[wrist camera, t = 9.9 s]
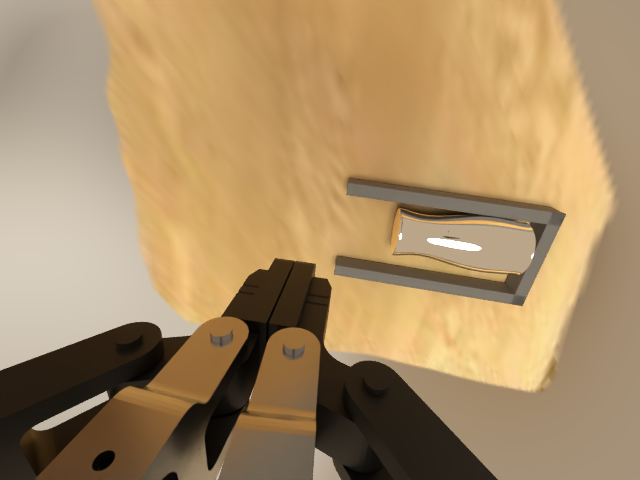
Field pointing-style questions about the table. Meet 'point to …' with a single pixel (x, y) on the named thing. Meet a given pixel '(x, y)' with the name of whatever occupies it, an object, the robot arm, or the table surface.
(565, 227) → the table surface
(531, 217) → the u rest
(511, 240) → the beer glass
